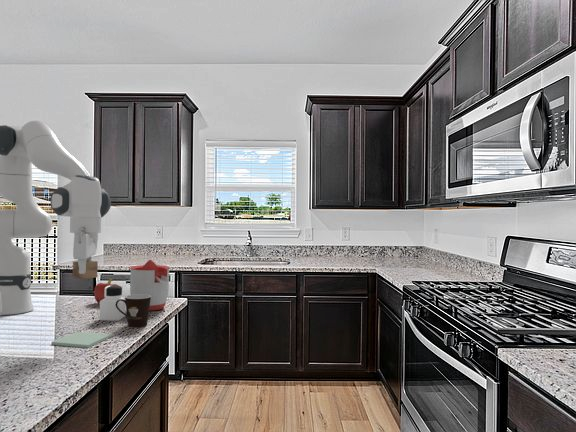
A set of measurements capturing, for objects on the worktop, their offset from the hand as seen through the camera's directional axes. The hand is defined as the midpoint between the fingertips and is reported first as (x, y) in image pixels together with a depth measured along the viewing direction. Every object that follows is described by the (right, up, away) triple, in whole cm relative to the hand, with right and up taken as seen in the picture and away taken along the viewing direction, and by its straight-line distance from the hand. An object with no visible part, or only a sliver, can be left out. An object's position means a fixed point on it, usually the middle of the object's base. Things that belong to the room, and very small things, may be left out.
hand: (84, 272), depth 140 cm
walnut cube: (0, -2, 0) cm, 2 cm away
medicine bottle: (-2, -21, +27) cm, 34 cm away
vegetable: (-14, -20, +53) cm, 59 cm away
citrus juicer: (+7, -21, +44) cm, 49 cm away
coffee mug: (+9, -21, +19) cm, 29 cm away
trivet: (0, -21, -2) cm, 21 cm away
